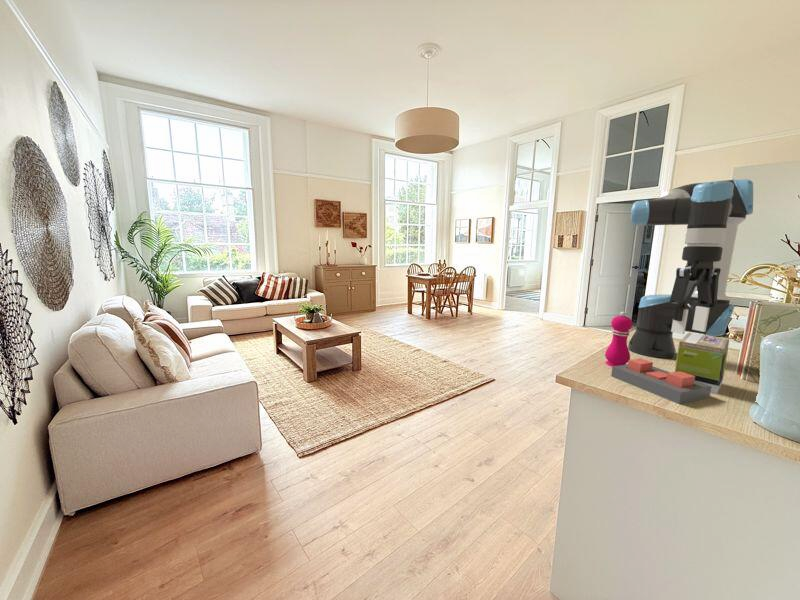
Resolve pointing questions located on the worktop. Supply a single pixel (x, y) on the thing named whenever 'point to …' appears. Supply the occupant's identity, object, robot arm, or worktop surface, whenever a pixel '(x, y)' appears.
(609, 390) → the worktop surface
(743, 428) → the worktop surface
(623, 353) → the pepper mill
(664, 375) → the button
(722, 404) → the worktop surface
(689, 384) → the button
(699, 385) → the power strip
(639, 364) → the button
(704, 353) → the tea box
